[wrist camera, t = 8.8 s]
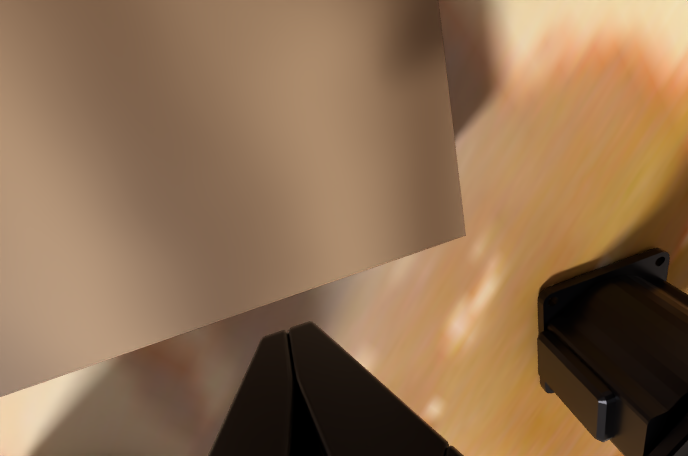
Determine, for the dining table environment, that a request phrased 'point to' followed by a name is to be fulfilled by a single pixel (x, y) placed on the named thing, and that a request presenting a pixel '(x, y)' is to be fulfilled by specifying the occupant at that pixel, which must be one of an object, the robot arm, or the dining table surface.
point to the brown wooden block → (207, 163)
